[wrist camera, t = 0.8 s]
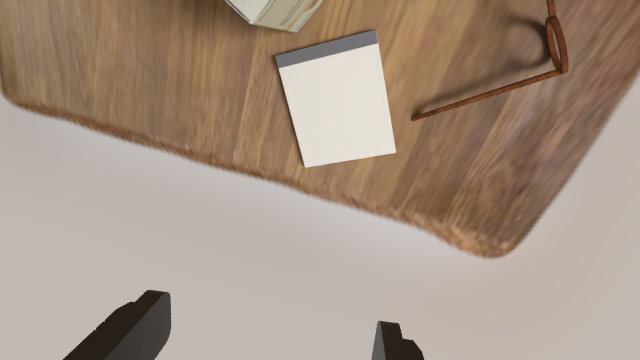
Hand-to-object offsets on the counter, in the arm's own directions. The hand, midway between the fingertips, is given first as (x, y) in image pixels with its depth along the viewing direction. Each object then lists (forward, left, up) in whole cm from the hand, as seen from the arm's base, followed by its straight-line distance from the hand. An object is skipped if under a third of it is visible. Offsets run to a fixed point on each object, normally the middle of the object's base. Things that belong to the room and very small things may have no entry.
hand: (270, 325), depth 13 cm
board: (-4, 0, -25) cm, 26 cm away
